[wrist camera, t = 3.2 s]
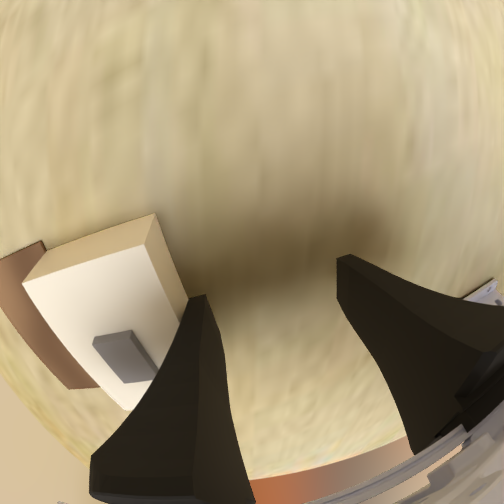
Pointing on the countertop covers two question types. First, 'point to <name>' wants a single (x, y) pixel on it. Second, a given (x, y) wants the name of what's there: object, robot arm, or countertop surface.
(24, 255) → the brown flat slab
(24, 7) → the countertop surface
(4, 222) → the countertop surface
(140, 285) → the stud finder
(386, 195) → the countertop surface
